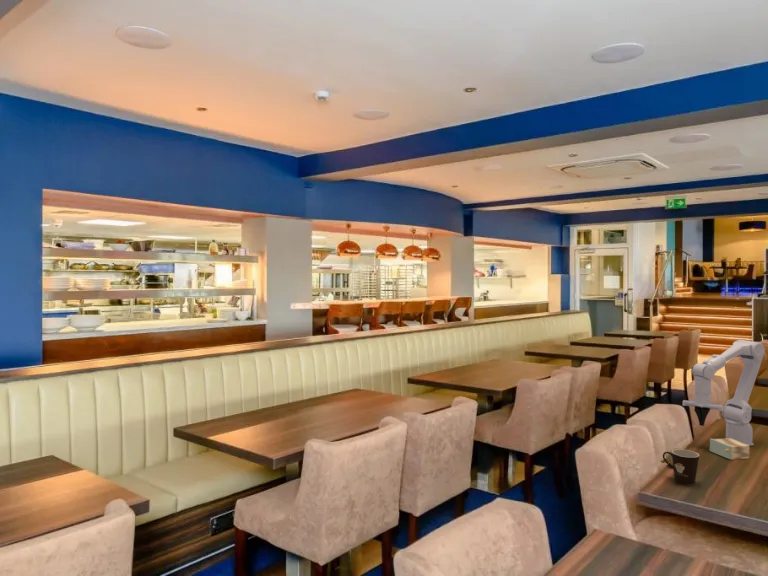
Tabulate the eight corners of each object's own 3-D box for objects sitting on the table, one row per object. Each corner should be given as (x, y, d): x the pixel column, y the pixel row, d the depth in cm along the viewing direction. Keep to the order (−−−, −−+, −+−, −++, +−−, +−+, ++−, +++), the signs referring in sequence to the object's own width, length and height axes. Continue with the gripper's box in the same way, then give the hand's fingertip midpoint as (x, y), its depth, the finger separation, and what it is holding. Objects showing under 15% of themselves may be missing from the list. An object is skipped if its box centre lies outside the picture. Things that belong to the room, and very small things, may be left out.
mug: (677, 460, 225) (688, 442, 219) (682, 479, 217) (693, 461, 211) (658, 454, 226) (668, 436, 221) (661, 473, 218) (672, 455, 212)
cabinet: (729, 450, 235) (729, 438, 235) (749, 458, 226) (749, 445, 225) (712, 451, 234) (712, 439, 234) (731, 459, 224) (731, 447, 224)
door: (710, 450, 234) (711, 438, 234) (731, 458, 224) (731, 446, 224) (706, 450, 234) (707, 438, 234) (727, 459, 224) (727, 446, 224)
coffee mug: (704, 485, 199) (705, 456, 199) (681, 486, 198) (682, 458, 197) (681, 472, 211) (682, 445, 210) (660, 474, 209) (660, 447, 209)
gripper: (681, 391, 239) (680, 424, 240) (720, 397, 230) (720, 430, 231) (685, 388, 245) (684, 420, 245) (724, 393, 235) (723, 426, 236)
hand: (701, 425), depth 238 cm, fingers closed
